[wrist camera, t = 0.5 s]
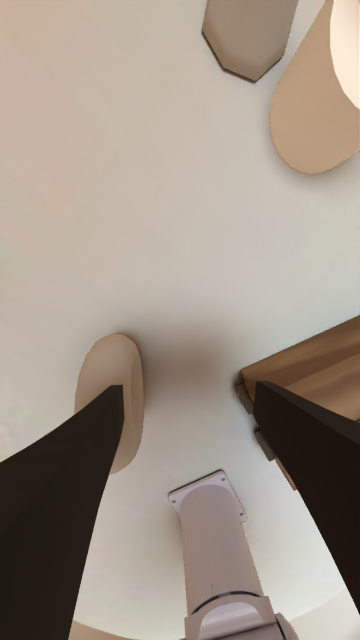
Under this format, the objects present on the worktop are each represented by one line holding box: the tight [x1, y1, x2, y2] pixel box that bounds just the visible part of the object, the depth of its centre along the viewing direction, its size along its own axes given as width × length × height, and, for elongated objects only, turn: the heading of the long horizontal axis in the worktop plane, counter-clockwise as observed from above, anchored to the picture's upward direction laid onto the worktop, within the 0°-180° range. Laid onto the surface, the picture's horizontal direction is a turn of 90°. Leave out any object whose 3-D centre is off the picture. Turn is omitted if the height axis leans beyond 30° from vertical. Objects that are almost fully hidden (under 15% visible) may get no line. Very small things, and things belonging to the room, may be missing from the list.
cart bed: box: [235, 315, 360, 491], centre depth 20 cm, size 12×19×5 cm, turn 114°
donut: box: [74, 334, 144, 475], centre depth 15 cm, size 10×4×10 cm, turn 3°
